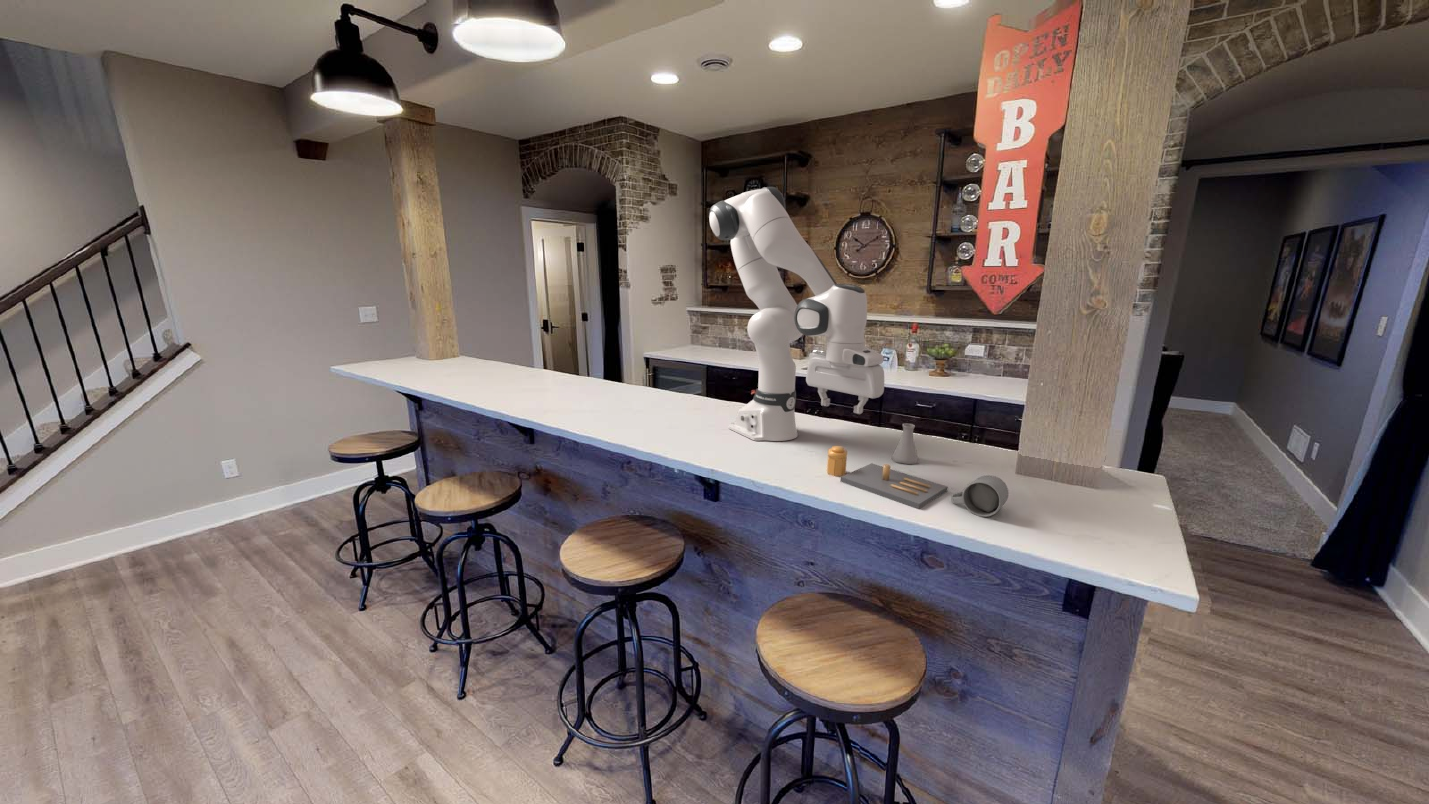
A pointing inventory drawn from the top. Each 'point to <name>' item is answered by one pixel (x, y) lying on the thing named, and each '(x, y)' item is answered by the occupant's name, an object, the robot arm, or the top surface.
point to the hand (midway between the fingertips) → (841, 409)
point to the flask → (906, 447)
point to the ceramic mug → (983, 496)
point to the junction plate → (894, 485)
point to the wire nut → (837, 461)
